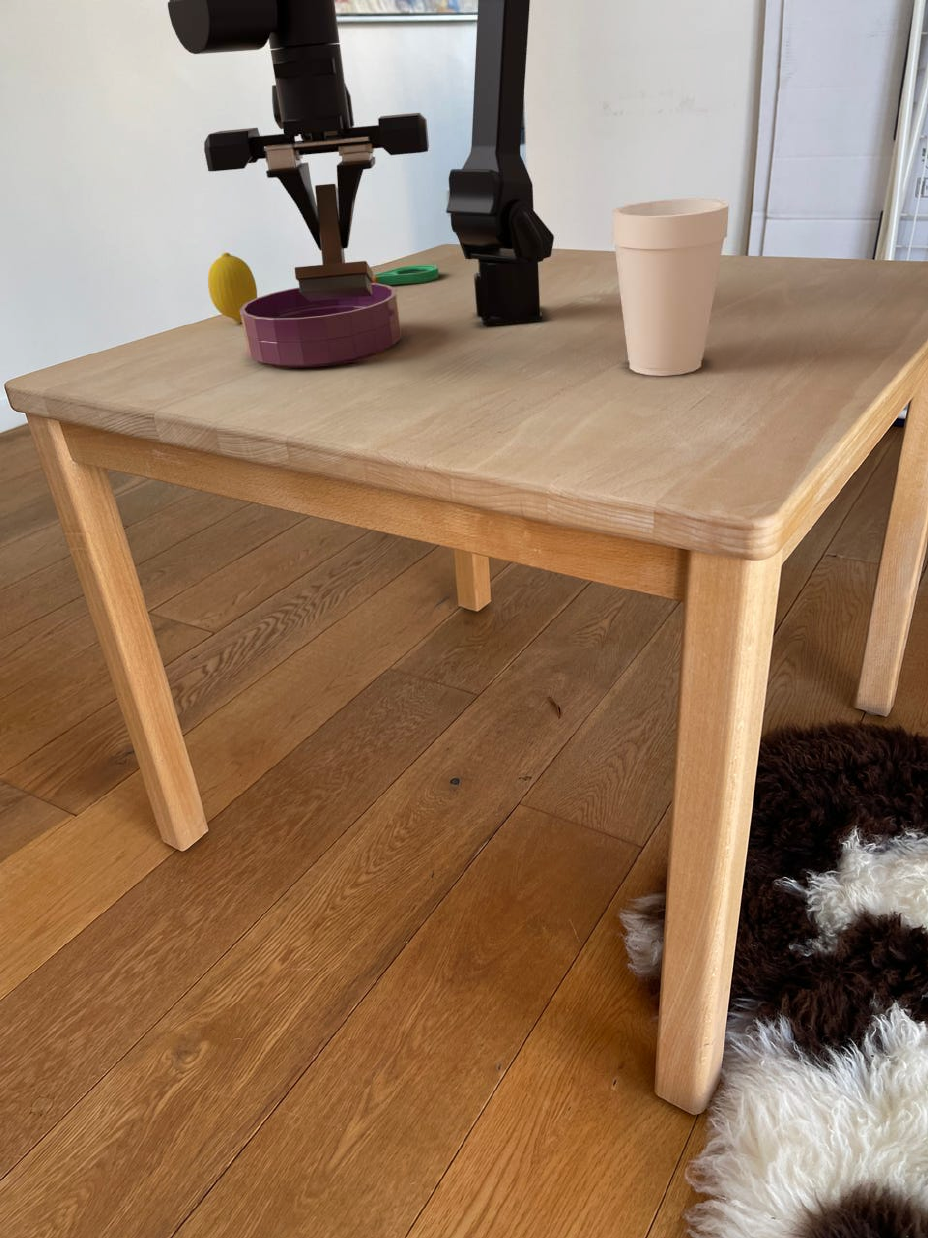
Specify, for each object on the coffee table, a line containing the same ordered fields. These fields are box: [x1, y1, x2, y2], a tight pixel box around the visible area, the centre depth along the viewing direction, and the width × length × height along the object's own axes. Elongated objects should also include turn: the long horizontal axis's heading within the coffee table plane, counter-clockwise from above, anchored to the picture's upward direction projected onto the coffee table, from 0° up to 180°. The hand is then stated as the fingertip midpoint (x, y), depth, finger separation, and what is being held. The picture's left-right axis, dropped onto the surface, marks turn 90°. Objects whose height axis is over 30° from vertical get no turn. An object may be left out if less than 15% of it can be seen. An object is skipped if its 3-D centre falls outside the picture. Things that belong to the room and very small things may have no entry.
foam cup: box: [611, 198, 730, 377], centre depth 79 cm, size 10×9×13 cm
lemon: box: [207, 252, 258, 324], centre depth 109 cm, size 6×6×8 cm
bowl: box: [240, 283, 402, 369], centre depth 96 cm, size 16×16×5 cm
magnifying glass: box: [373, 264, 439, 286], centre depth 123 cm, size 15×6×2 cm, turn 118°
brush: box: [294, 183, 374, 301], centre depth 83 cm, size 6×4×9 cm
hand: (334, 248), depth 84 cm, fingers closed on brush, 2 cm apart
